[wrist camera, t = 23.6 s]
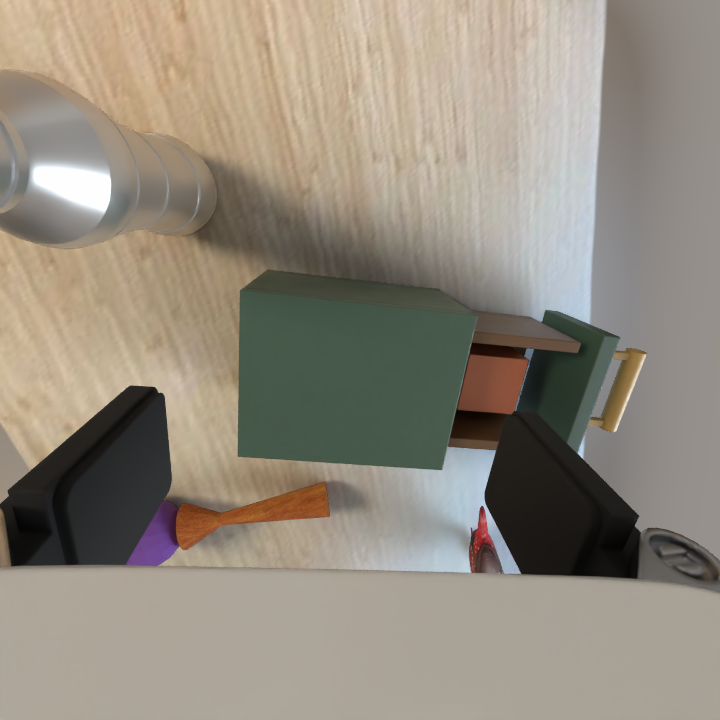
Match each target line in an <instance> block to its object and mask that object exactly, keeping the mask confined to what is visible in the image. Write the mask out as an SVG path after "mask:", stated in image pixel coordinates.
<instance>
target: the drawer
mask: <svg viewBox="0 0 720 720" xmlns="http://www.w3.org/2000/svg"><path fill="white" fill-rule="evenodd" d="M470 311H471V310H470ZM471 312H473V313H474V314H476V315H477V316H478V317H477V321H476V326H475V330H474V334H473V338H472V343H482V344H491V345H501V346H510V347H512V348H513V349H514V350H516V351H517V352H519V353H520V354H521V355H523V356H524V355H525V352H526V348H531V349H534V352H533V355H532V358H531V362H530V365H529V369H528V372H527V376H526V379H525V382H524V386H523V389H522V393H521V396H520V399H519V403H518V406H517V410H516V411H523V412H536V413H537V414H538V415H539V416H540V417H541V418H542V419H543V420H544V421H545V422H546V423H547V424H548V425H549V426H550V427H551V428H552V429H553V430H554V431H555V432H556V433H557V434H558V435H559V436H560V437H561V438H562V439H563V440H564V441H565V442H566V443H567V444H568V445H569V446H570V447H571V448H572V449H573V450H574V451H575V452H576V453H578V451H579V448H580V445H581V442H582V440H583V437H584V434H585V432H586V429H587V426H598V427H600V428H601V429H603V430H606V431H609V432H616V430H617V428H618V425H619V423H620V420H621V418H622V415H623V413H624V410H625V408H626V405H627V403H628V400H629V398H630V395H631V393H632V390H633V388H634V385H635V383H636V380H637V378H638V375H639V373H640V370H641V368H642V365H643V363H644V360H645V358H646V355H647V353H646V352H644V351H641V350H637V349H632V348H627V349H626V351H616V348H617V345H618V342H619V339H620V337H618V336H616V335H613V334H611V333H609V332H606V331H604V330H601V329H599V328H597V327H594V326H592V325H589V324H587V323H585V322H582V321H580V320H577V319H575V318H573V317H570V316H568V315H565V314H563V313H561V312H558V311H551V310H546V311H545V314H544V317H543V321H542V323H541V322H539V321H537V320H535V319H533V318H531V317H526V316H517V315H508V314H498V313H489V312H480V311H471ZM612 359H618V360H622V362H621V364H620V367H619V369H618V372H617V375H616V377H615V380H614V383H613V385H612V388H611V391H610V394H609V396H608V399H607V401H606V404H605V406H604V409H603V412H602V414H601V417H600V418H596V417H591V415H592V412H593V410H594V407H595V404H596V402H597V399H598V396H599V394H600V391H601V388H602V386H603V383H604V380H605V377H606V375H607V372H608V369H609V366H610V364H611V361H612ZM507 416H511V414H503V413H491V412H479V411H467V410H457V409H456V412H455V416H454V421H453V425H452V429H451V434H450V438H449V442H448V446H447V447H459V448H472V449H486V450H497V446H498V443H499V439H500V435H501V432H502V428H503V425H504V421H505V418H506V417H507Z"/></svg>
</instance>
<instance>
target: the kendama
mask: <svg viewBox="0 0 720 720" xmlns="http://www.w3.org/2000/svg"><path fill="white" fill-rule="evenodd" d="M319 517H330V511H329V503H328V496H327V490H326V484H325V482H322V483H318V484H315V485H312V486H309V487H305V488H302V489H299V490H295V491H292V492H289V493H286V494H282V495H279V496H276V497H273V498H269V499H266V500H263V501H260V502H256V503H253V504H250V505H246V506H243V507H240V508H237V509H233V510H230V511H227V512H224V513H219V512H216V511H212V510H208V509H205V508H201V507H197V506H194V505H190V504H186V503H183V504H182V505H181V506H180V508H179V509H178V508H177V507H176V506H174V505H173V504H172V503H171V502H167V501H163V502H162V504H161V505H160V507H159V509H158V510H157V512H156V514H155V516H154V517H153V519H152V521H151V522H150V524H149V526H148V527H147V529H146V531H145V533H144V534H143V536H142V538H141V539H140V541H139V543H138V544H137V546H136V548H135V550H134V551H133V553H132V555H131V556H130V558H129V560H128V561H127V563H126V565H137V566H158V565H159V564H161V563H163V562H164V561H166V560H167V559H169V558H170V557H171V556H172V555H173V554H174V552H175V551H176V550H177V548H178V547H179V546H180V547H181V548H182V549H183V550H187V549H188V548H190V547H191V546H193V545H194V544H196V543H197V542H199V541H200V540H202V539H203V538H204V537H206V536H207V535H209V534H210V533H212V532H213V531H215V530H216V529H217V528H219V527H220V526H222V525H229V524H242V523H254V522H267V521H280V520H293V519H306V518H319Z"/></svg>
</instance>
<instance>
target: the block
mask: <svg viewBox="0 0 720 720" xmlns="http://www.w3.org/2000/svg"><path fill="white" fill-rule="evenodd" d="M528 362H529V360H528V359H527V358H525V357H524V356H523V355H521V354H520V353H519V352H517V351H516V350H514V349H513V348H512V347H510V346H501V345H491V344H482V343H471V347H470V351H469V356H468V360H467V364H466V369H465V373H464V377H463V382H462V386H461V390H460V395H459V399H458V403H457V408H456V409H457V410H467V411H479V412H491V413H503V414H512V413H513V412H514V410H515V407H516V403H517V400H518V396H519V393H520V390H521V386H522V383H523V379H524V376H525V372H526V369H527V365H528Z"/></svg>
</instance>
